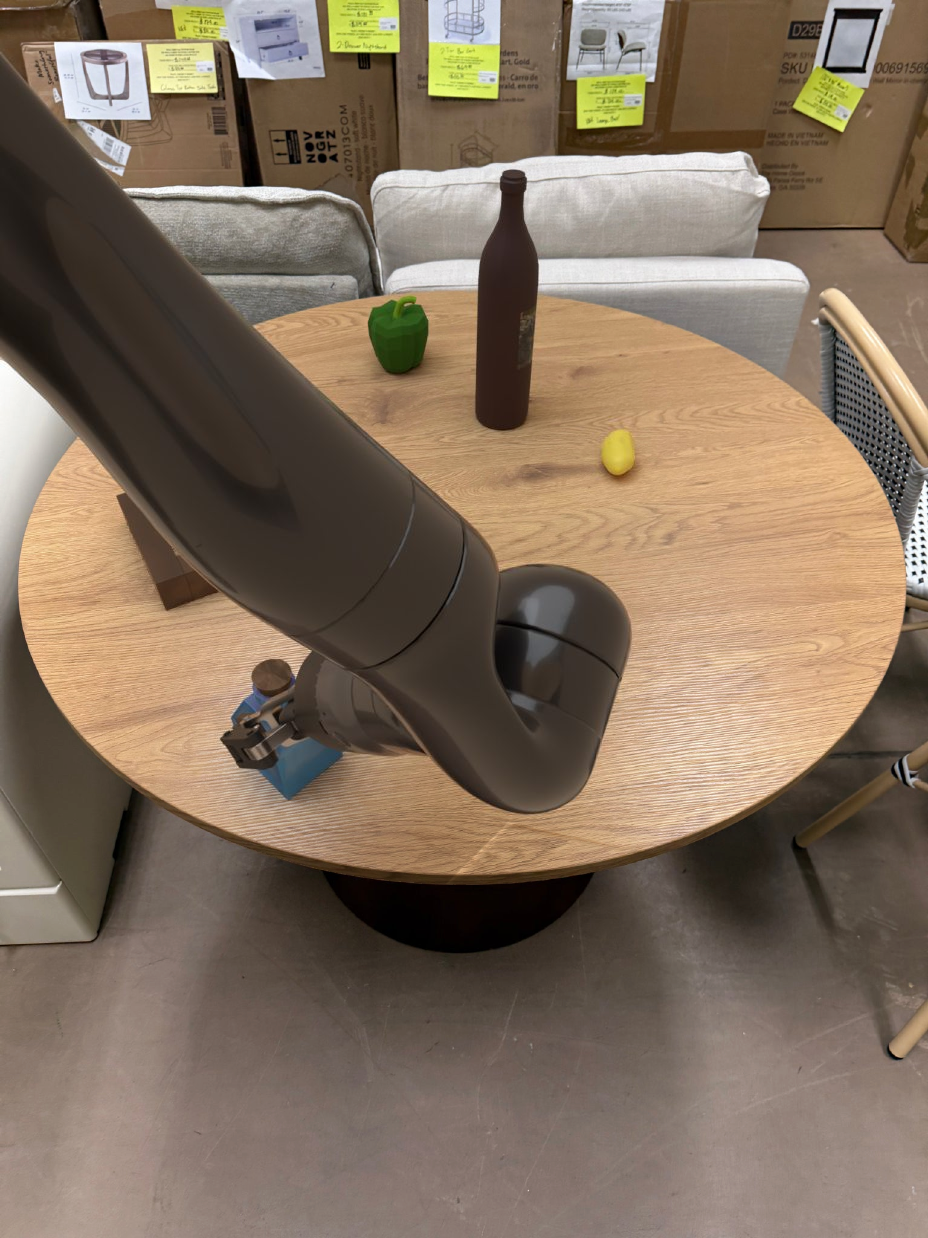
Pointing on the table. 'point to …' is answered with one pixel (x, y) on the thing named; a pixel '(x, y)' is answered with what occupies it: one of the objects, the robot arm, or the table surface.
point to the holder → (163, 560)
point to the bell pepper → (398, 334)
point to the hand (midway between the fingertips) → (290, 695)
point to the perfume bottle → (295, 760)
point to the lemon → (618, 452)
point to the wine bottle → (506, 312)
